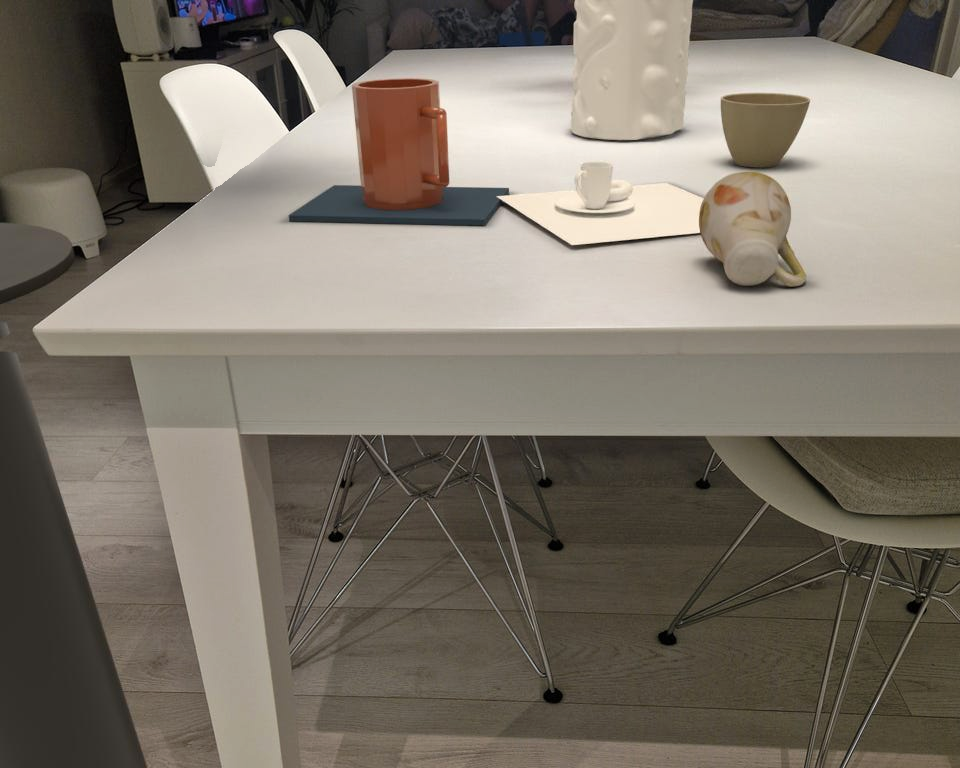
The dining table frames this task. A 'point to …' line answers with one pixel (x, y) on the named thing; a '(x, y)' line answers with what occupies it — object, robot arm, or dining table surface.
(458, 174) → the dining table surface
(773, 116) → the flower pot
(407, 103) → the tall mug
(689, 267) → the dining table surface
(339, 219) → the mat
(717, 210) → the floral patterned cup
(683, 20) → the vase
